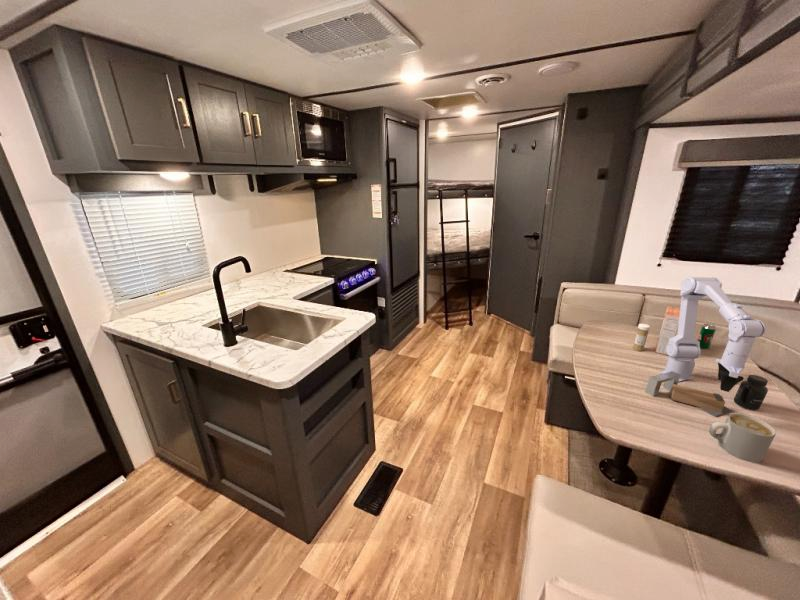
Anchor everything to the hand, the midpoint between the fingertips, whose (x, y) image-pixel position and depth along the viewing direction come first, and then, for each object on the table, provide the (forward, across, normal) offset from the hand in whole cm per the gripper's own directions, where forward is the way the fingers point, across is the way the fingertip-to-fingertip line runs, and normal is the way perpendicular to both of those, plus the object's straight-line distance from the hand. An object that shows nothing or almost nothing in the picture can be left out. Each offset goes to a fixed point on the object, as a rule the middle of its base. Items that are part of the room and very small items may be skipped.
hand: (723, 385), depth 112 cm
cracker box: (+11, -46, -15) cm, 49 cm away
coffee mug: (+11, +21, +3) cm, 24 cm away
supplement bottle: (+11, -10, +10) cm, 18 cm away
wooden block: (+10, +1, -6) cm, 11 cm away
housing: (+10, -2, -16) cm, 19 cm away
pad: (+10, -2, -4) cm, 11 cm away
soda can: (+11, -60, 0) cm, 61 cm away
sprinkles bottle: (+11, -38, -25) cm, 46 cm away
